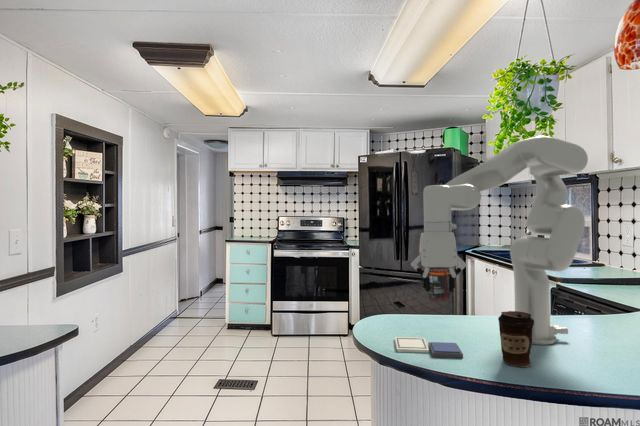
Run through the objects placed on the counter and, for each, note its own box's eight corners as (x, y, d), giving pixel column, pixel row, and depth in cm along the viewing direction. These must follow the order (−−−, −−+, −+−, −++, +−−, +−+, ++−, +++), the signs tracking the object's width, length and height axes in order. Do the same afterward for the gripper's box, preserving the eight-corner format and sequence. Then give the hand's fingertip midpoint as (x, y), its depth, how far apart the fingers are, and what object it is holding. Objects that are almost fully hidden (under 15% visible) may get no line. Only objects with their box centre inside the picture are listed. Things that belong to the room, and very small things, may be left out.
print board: (424, 340, 113) (424, 337, 113) (429, 352, 104) (429, 349, 104) (394, 339, 115) (394, 336, 115) (396, 351, 105) (396, 348, 105)
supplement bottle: (446, 296, 107) (446, 258, 107) (452, 301, 101) (451, 261, 101) (426, 296, 108) (425, 258, 108) (430, 301, 102) (430, 261, 102)
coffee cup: (534, 373, 90) (533, 320, 90) (497, 365, 94) (496, 315, 94) (535, 360, 97) (534, 311, 97) (500, 354, 101) (500, 307, 101)
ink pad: (456, 347, 107) (456, 342, 107) (463, 358, 99) (462, 352, 99) (428, 346, 108) (428, 341, 108) (432, 357, 100) (432, 351, 100)
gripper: (465, 227, 107) (466, 288, 107) (405, 228, 109) (406, 288, 109) (472, 228, 100) (473, 294, 100) (408, 229, 102) (409, 293, 102)
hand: (438, 290), depth 105 cm, fingers closed on supplement bottle, 6 cm apart
